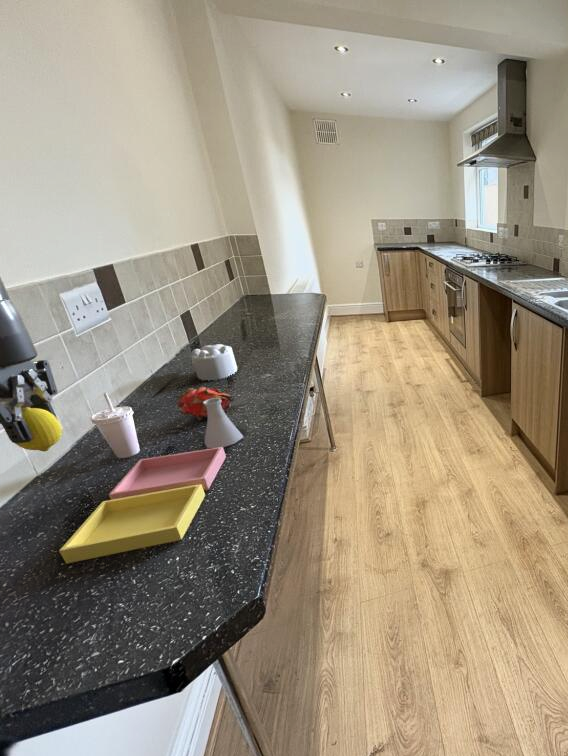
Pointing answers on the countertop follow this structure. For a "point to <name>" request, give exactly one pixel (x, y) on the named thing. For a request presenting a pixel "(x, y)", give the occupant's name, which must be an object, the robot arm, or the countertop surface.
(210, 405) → the flask
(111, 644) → the countertop surface
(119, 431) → the smoothie
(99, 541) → the yellow tray
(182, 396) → the dragon fruit
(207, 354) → the lumpy-topped squat cylinder
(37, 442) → the lemon
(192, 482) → the rose tray
